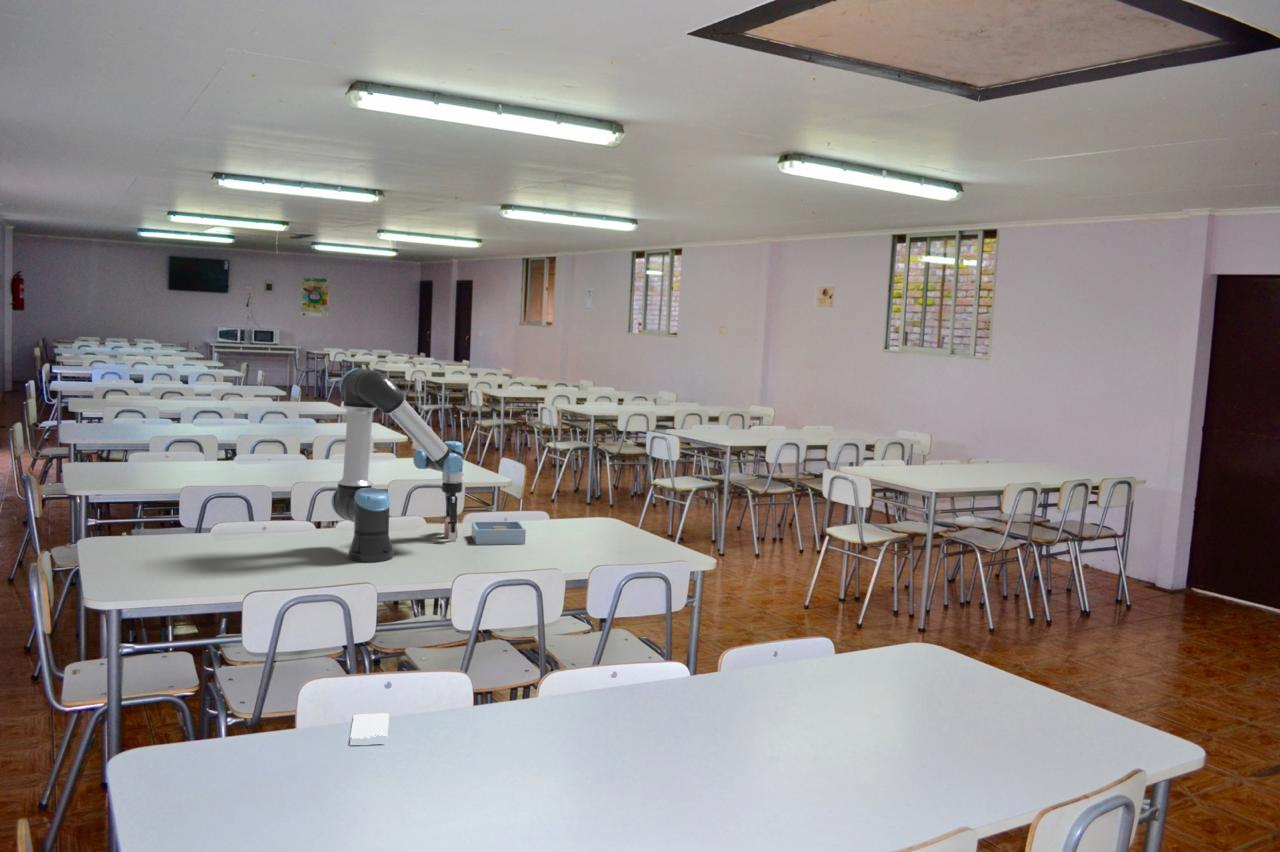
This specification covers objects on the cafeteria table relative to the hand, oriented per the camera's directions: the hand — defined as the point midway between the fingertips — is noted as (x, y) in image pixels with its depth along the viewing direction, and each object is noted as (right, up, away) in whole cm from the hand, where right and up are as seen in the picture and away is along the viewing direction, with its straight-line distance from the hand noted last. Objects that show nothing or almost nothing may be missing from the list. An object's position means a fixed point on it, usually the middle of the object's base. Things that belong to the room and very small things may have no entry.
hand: (450, 536), depth 382 cm
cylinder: (0, 0, 0) cm, 0 cm away
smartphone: (+18, -20, -180) cm, 182 cm away
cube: (+19, -1, -4) cm, 20 cm away
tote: (+18, -1, 0) cm, 18 cm away
